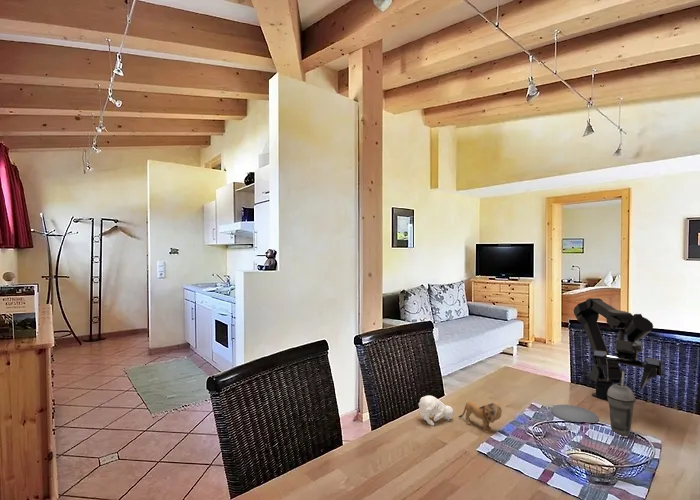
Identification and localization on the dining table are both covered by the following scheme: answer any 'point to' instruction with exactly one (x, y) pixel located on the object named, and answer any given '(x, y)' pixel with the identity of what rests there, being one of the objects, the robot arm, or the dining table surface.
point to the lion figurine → (483, 413)
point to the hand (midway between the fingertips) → (623, 384)
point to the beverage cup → (621, 407)
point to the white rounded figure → (434, 409)
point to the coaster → (573, 413)
